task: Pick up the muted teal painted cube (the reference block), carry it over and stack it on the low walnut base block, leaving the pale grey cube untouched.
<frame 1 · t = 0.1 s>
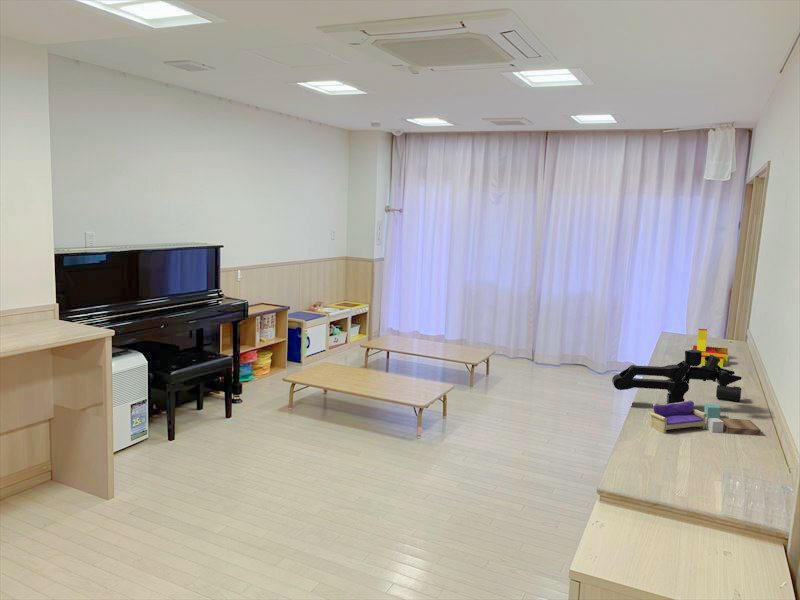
hand: (737, 375, 270), 17 cm above the counter, tool horizontal, fingers open, 9 cm apart
base block: (738, 430, 250), on the counter
teal block: (711, 417, 266), on the counter
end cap: (728, 400, 290), on the counter
grey cube: (714, 430, 249), on the counter
toy sofa: (677, 428, 252), on the counter
building blocks toy: (709, 361, 367), on the counter
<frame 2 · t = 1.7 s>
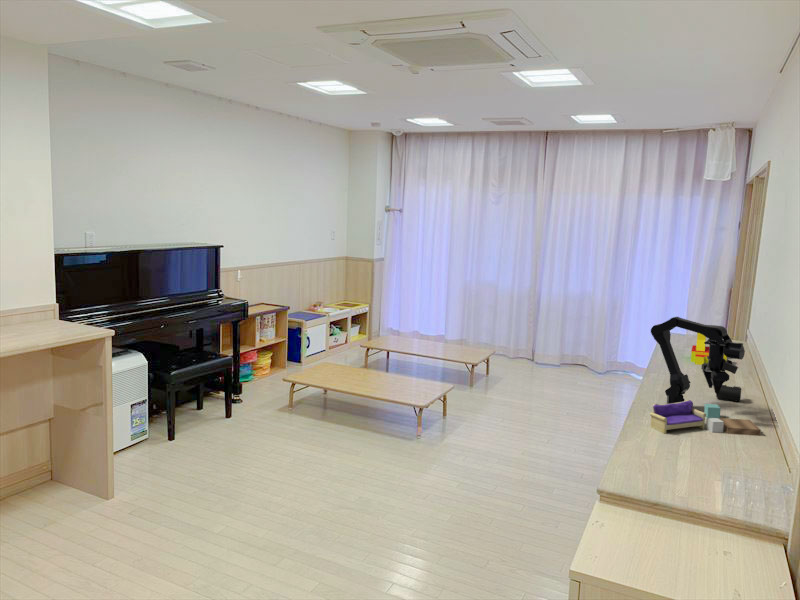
hand: (713, 390, 264), 12 cm above the counter, tool pointing down, fingers open, 9 cm apart
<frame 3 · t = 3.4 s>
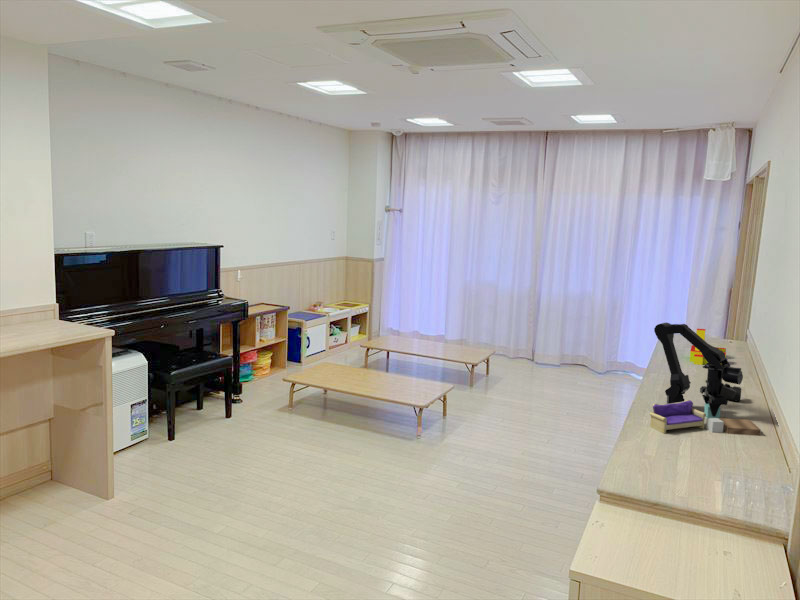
hand: (711, 414, 265), 1 cm above the counter, tool pointing down, fingers closed on teal block, 5 cm apart
teal block: (711, 416, 266), on the counter, touching gripper
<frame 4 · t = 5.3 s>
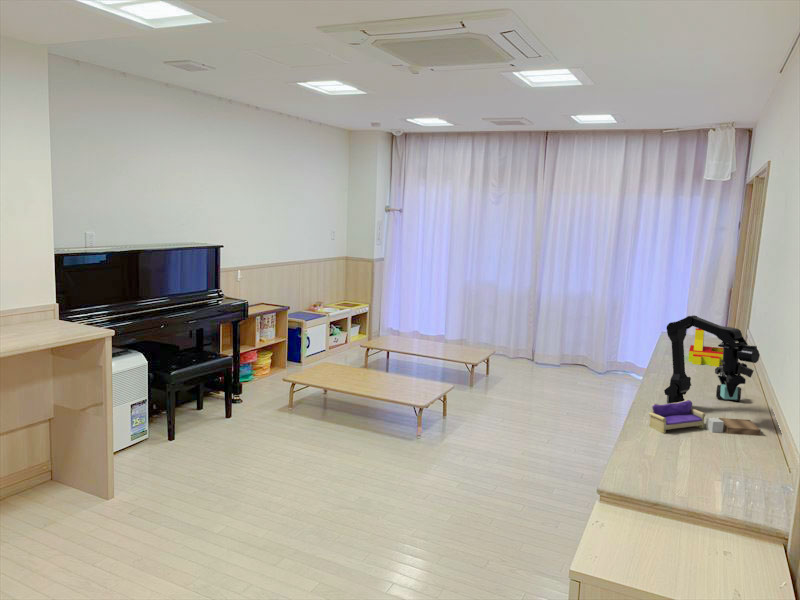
hand: (728, 395, 255), 12 cm above the counter, tool pointing down, fingers closed on teal block, 5 cm apart
teal block: (728, 397, 256), point 11 cm above the counter, touching gripper
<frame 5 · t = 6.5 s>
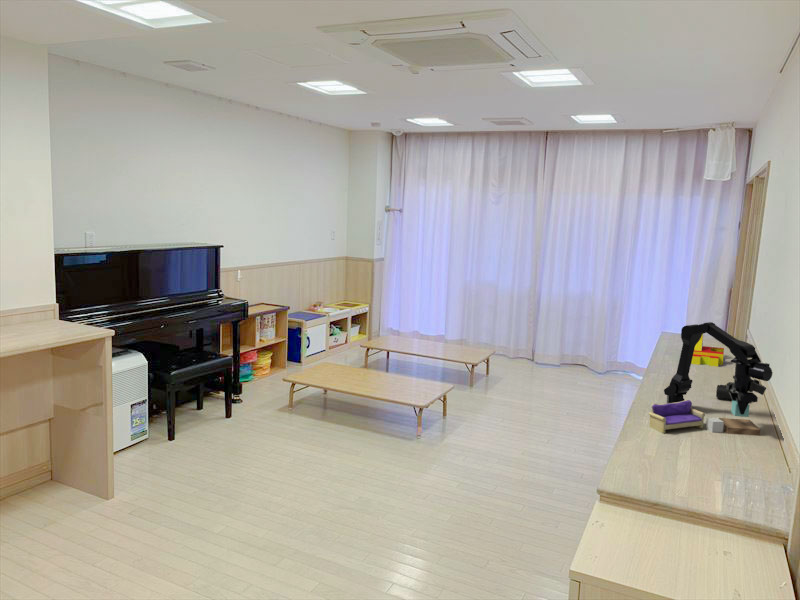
hand: (739, 412, 249), 7 cm above the counter, tool pointing down, fingers closed on teal block, 5 cm apart
teal block: (739, 414, 249), point 6 cm above the counter, touching gripper
when the fingers open (5 cm above the counter, at t = 7.3 s): teal block drops 2 cm, resting on base block.
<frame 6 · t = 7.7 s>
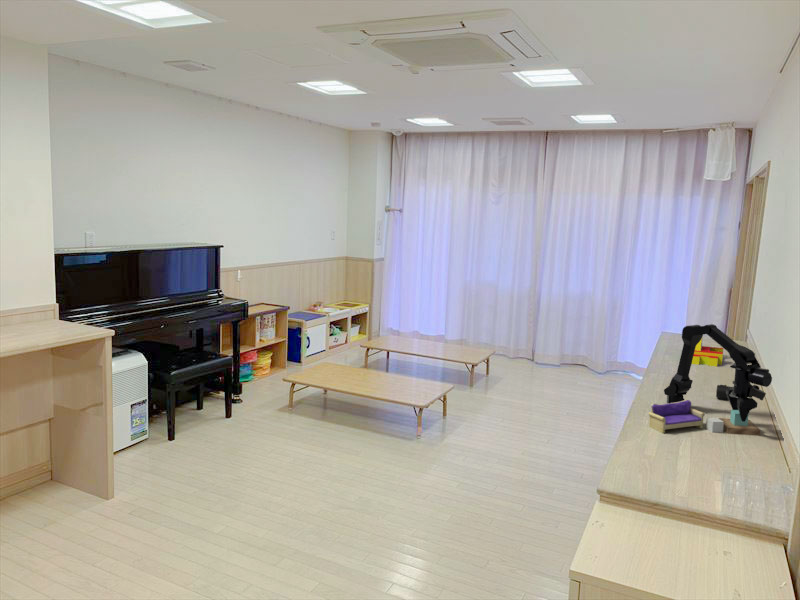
hand: (739, 417, 249), 5 cm above the counter, tool pointing down, fingers open, 9 cm apart
base block: (738, 430, 250), on the counter, touching teal block
teal block: (738, 423, 249), point 2 cm above the counter, touching base block
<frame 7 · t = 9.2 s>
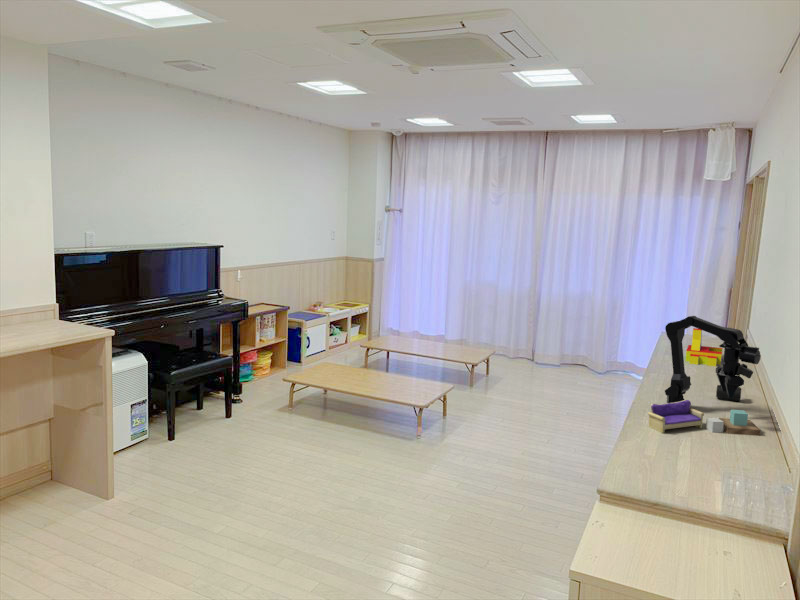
hand: (727, 394, 259), 11 cm above the counter, tool pointing down, fingers open, 9 cm apart
base block: (738, 430, 250), on the counter
teal block: (738, 423, 249), point 2 cm above the counter
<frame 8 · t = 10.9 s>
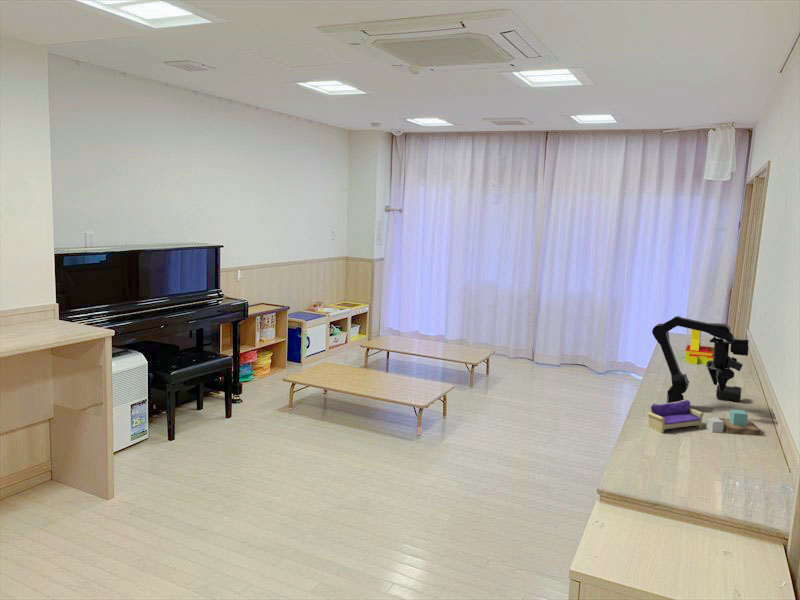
hand: (718, 387, 267), 12 cm above the counter, tool pointing down, fingers open, 9 cm apart
base block: (738, 430, 250), on the counter, touching teal block
teal block: (737, 423, 250), point 2 cm above the counter, touching base block
at the end: teal block inside the target area on the base block (0.4 cm from its centre), point 3.0 cm above the base block's base; teal block tilted 0°; the gripper is holding nothing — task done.
